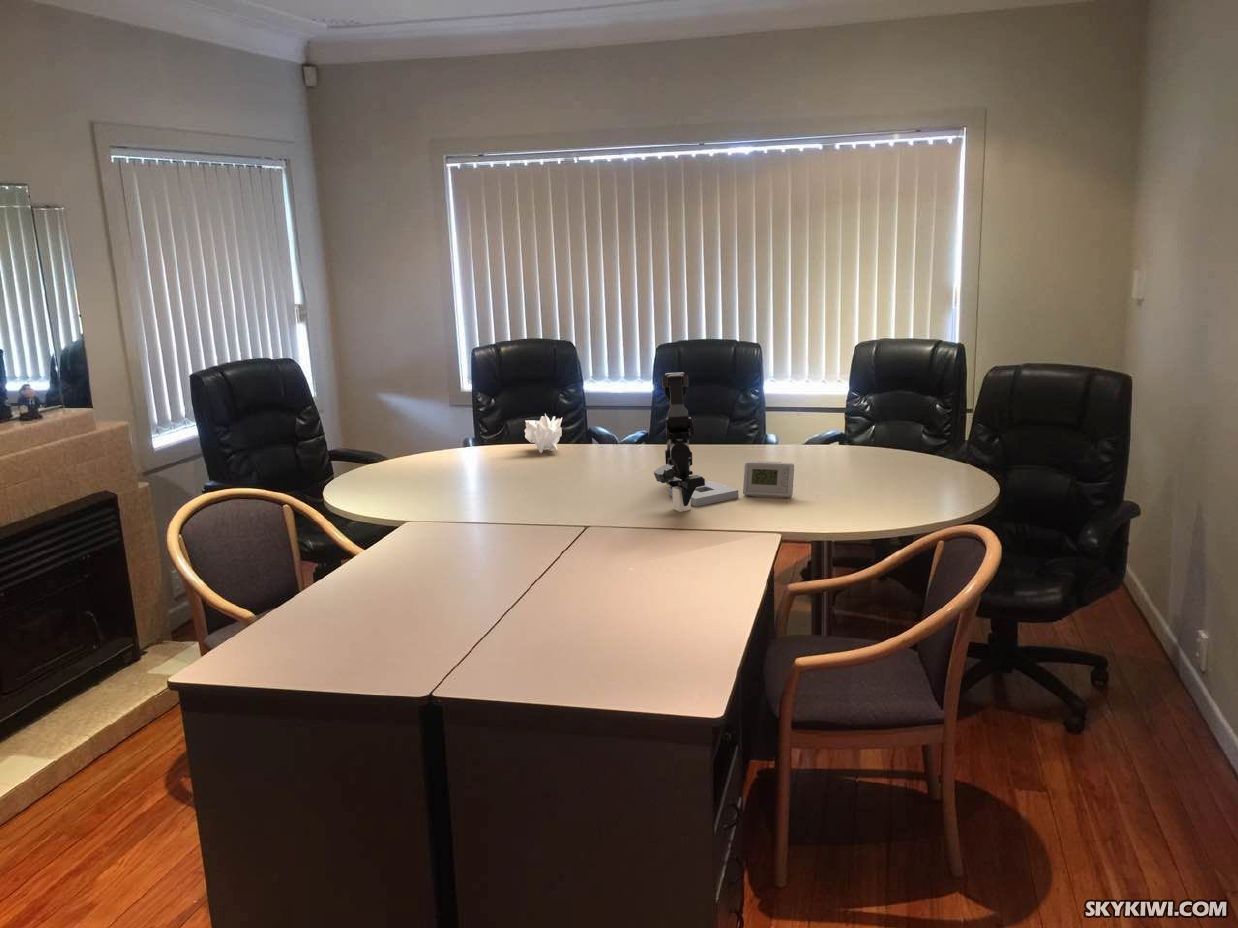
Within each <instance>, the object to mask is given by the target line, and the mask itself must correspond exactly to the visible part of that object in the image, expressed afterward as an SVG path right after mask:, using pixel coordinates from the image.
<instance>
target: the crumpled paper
mask: <svg viewBox="0 0 1238 928" xmlns="http://www.w3.org/2000/svg"><path fill="white" fill-rule="evenodd" d="M562 420H563V417H562V416H561V418H559V417H558V418H556V416H555V415H554V416H552V419H551V420H550V418H549V417H548V415H547V413H544V416H543V415H542V416H540V419H539V420H524V421H525V427H526V428H524V433H525V434H524V437H525V439H526V440H527V441H528V442H530V444H531V443H532V444H535V446H537V447H536V448H537V450H538V452H539V453H540V454H542V453H543V451H544V450H545V449H546V450H547V449H549V452H550V451H551V452H552V451H554V450H555V451H558V450H559V449H558V447H557V444H558V443H559V441H560V438H561V437H562V433H563V431H562V430H563V428H562V427H561V424H562Z"/></svg>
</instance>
